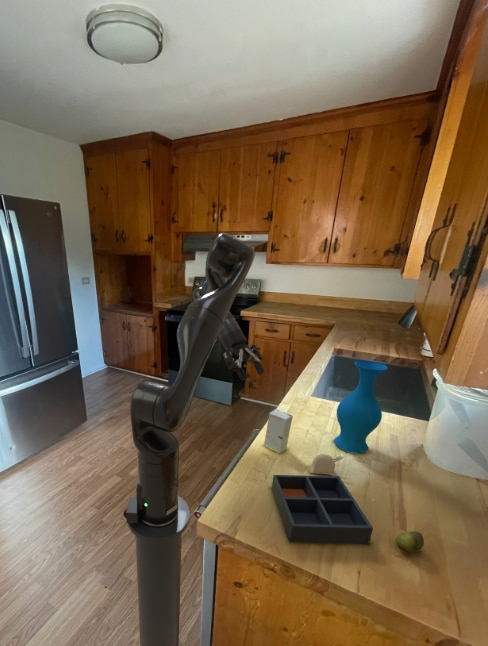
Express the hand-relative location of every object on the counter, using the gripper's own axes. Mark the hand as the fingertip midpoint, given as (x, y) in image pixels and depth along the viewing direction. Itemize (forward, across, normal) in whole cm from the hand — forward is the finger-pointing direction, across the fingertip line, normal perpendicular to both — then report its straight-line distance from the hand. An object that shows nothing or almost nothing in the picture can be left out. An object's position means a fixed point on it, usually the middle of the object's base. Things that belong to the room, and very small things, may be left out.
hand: (253, 376), depth 106 cm
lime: (+52, -10, -23) cm, 58 cm away
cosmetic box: (+23, 0, +6) cm, 24 cm away
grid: (+39, -16, -10) cm, 44 cm away
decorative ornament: (+34, +1, -5) cm, 35 cm away
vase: (+33, +20, -4) cm, 39 cm away
